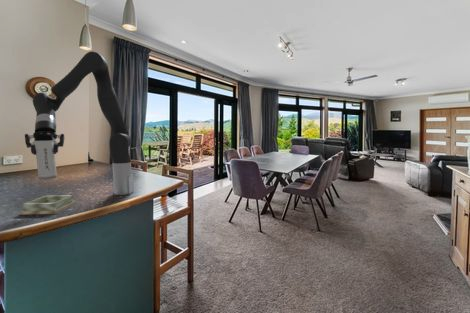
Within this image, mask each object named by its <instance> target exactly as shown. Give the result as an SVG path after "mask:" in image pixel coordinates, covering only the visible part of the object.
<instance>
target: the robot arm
mask: <svg viewBox="0 0 470 313" xmlns="http://www.w3.org/2000/svg"><path fill="white" fill-rule="evenodd" d="M91 73H92V76H93V77H94V80H95V83H96V96H97V101H98V103H99V107H100V110H101V112H102V114H103V116H104V117H105V119H106V121H107V122H108V124H109V126H110V128H111V130H112V135H111V136H110V138H109V153H110V154H109V156H110V158H111V161H112V162H111V163H112V181H113V195H116V196H124V195H125V196H126V195H130V194H132V193H133V192H135V191H134V188H135V186H134V175H133V174H132V159H131V158H132V157H131V156H130V150H129V148H130V147H131V145H132V138H131V136H130V134H129V132H128V129H127V126H126V124H125V121H124V117H123V113H122V109H121V105H120V103H119V100H118V97H117V96H118V95H117V93H116V92H115V88H114V85H113V84H112V79H111V76H110V70H109V65H108V62H107V60H106V59H105V58H104V57H103V56H102V55H101V54H100V53H99V52H96V51H88V52H86V53H85V54H84V56H83V57H81V58H80V61H79V62H78V63H77V64H76V65H74V67H73V68H72V69H71V70H70V71H69V72H68V73H67V74H66V75H65V76H64V77H63V78H61V79H60V80H59V81H57V83H56V84H54V85H53V86H52V87H51V88H50V91H51V93H52V94H53V95H54V96H55V98H53V97H52V96H50V95H48V94H47V93H45V92H37V93H36V94H34V95H33V97H32V105H33V107H34V110H35V112H36V117H35V118H36V119H35V122H34V133H42V134H52V135H53V142H54V154H55V155H57V154H58V153H59V147H60V148H63V147H64V144H65V143H64V142H65V133H61V134H57V121H56V112H57V111H59V109H60V107H61V106H62V104H63V102H64V101H65V100H66V99H67V97H68V96H70V95H71V94H73V92H74V91H76V89H77V88H78V87H79V86H80V84H81V82H82V81H83V80H84V78H85V77H87V76H88V75H90V74H91ZM34 133H33V134H28V133H25V134H24V141H25V145H26V148H28V149H29V148H30V152H31V154H33V155H34V156H36V150H35V138H34ZM56 139H58V140H59V142H57V141H56ZM32 140H33V141H32ZM31 141H32V142H31Z"/></svg>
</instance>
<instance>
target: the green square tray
mask: <svg viewBox="0 0 470 313" xmlns="http://www.w3.org/2000/svg"><path fill="white" fill-rule="evenodd" d="M74 199H75V198H74V195H73V194H67V195H66V194H61V195H60V194H59V195H58V194H57V195H43V196H40V197H39V198H35V199H33V200H30V201H27V202H24V203H22V208H23V210H20V212H19V213H20V215H23V216H24V215H53V214H54V215H56V214H58V213H60V212H62V211H64V210H66V209H68V208H70V207H72V206H75V205H76V204H77V200H74Z"/></svg>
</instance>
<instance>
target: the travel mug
mask: <svg viewBox="0 0 470 313" xmlns="http://www.w3.org/2000/svg"><path fill="white" fill-rule="evenodd" d="M33 134H34V138H35V150H36V155H35V160H36V167H37V175H38V176H37V177H38V180H40V181H41V180H43V181H46V180H52V179H56V178H57V177H58V174H57V164H56V154H54V142H53V135H52V134H42V133H35V132H33ZM34 138H33V139H34Z"/></svg>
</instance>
